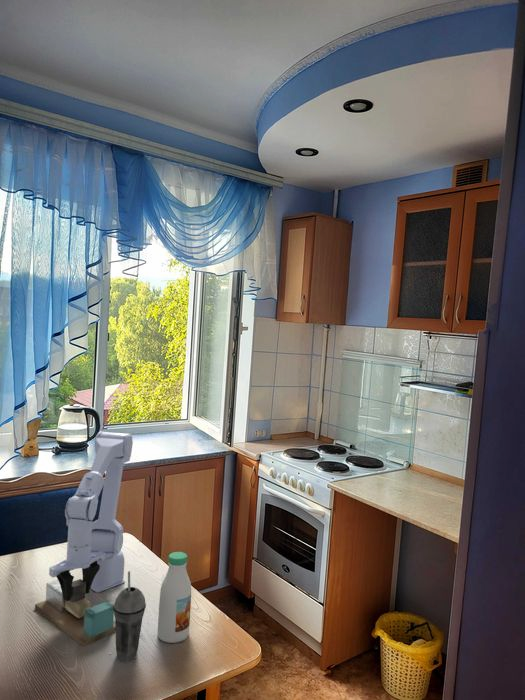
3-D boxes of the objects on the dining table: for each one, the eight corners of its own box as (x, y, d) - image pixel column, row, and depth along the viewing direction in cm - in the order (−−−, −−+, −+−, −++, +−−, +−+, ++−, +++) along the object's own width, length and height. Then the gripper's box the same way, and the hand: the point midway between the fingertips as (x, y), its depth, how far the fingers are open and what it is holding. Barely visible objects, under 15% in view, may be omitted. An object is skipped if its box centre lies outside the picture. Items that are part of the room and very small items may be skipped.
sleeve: (62, 595, 142) (63, 577, 141) (78, 606, 136) (79, 588, 136) (45, 601, 138) (46, 583, 138) (61, 613, 133) (62, 594, 133)
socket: (106, 622, 130) (107, 601, 130) (113, 627, 128) (114, 605, 128) (83, 632, 125) (85, 610, 125) (90, 637, 123) (92, 614, 123)
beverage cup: (149, 651, 121) (154, 566, 121) (131, 669, 114) (136, 579, 114) (122, 643, 124) (127, 560, 123) (103, 660, 117) (108, 572, 116)
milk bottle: (162, 647, 123) (167, 563, 123) (153, 629, 130) (158, 551, 130) (193, 640, 127) (198, 559, 126) (182, 623, 134) (187, 547, 133)
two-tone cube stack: (61, 593, 141) (63, 567, 141) (90, 613, 132) (92, 586, 132) (48, 598, 138) (50, 572, 138) (77, 618, 129) (79, 590, 129)
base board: (70, 595, 144) (70, 591, 144) (119, 629, 129) (119, 624, 129) (34, 608, 136) (35, 604, 136) (83, 646, 122) (83, 641, 122)
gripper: (60, 556, 124) (57, 612, 125) (112, 540, 136) (109, 591, 136) (46, 547, 129) (43, 601, 129) (97, 532, 140) (94, 582, 140)
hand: (76, 595), depth 133 cm, fingers open, 5 cm apart
